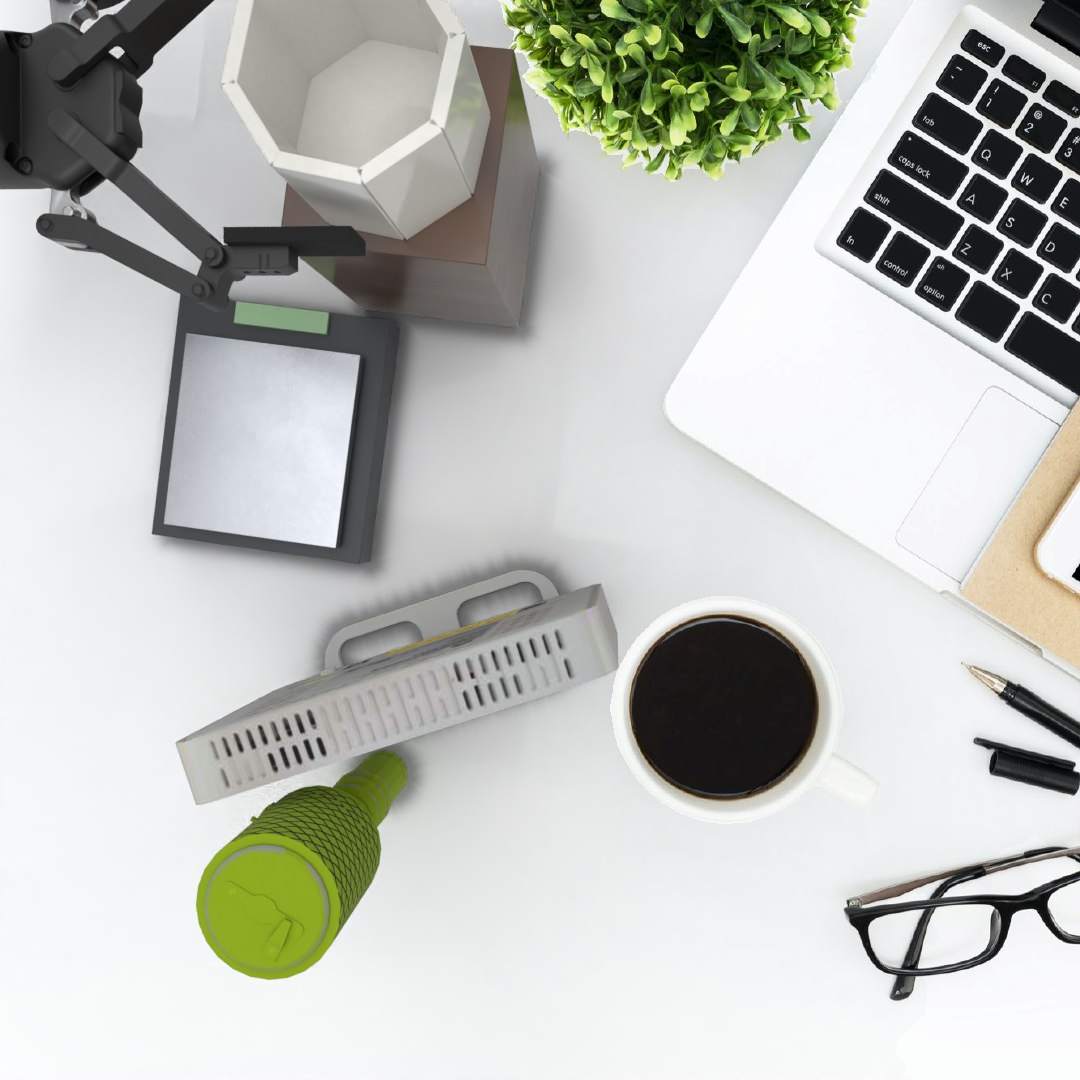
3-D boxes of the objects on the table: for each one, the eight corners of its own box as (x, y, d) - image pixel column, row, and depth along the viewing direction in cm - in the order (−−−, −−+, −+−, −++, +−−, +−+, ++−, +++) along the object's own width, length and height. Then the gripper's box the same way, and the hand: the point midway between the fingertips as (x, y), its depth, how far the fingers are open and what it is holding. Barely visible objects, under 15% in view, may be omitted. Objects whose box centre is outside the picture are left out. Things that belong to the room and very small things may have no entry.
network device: (312, 755, 72) (198, 848, 52) (277, 649, 72) (148, 701, 52) (626, 655, 70) (631, 712, 50) (589, 545, 70) (580, 558, 50)
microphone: (450, 756, 71) (363, 887, 47) (402, 840, 72) (291, 1014, 47) (360, 703, 72) (226, 805, 47) (313, 787, 72) (156, 932, 47)
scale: (198, 302, 72) (177, 292, 69) (400, 327, 71) (389, 318, 67) (170, 533, 73) (148, 534, 69) (370, 562, 72) (358, 564, 68)
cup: (315, 20, 53) (254, -82, 44) (504, 57, 52) (481, -38, 43) (274, 213, 53) (205, 152, 44) (460, 252, 52) (429, 199, 43)
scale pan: (192, 335, 69) (186, 333, 68) (364, 357, 68) (360, 354, 67) (169, 523, 69) (163, 524, 68) (339, 548, 68) (335, 548, 67)
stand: (383, 151, 71) (305, 28, 53) (540, 168, 70) (514, 48, 52) (363, 309, 71) (278, 241, 53) (518, 328, 70) (485, 265, 52)
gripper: (8, -84, 52) (381, -98, 50) (9, 363, 53) (376, 365, 51) (-93, -184, 45) (340, -204, 43) (-91, 339, 45) (335, 340, 44)
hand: (361, 105), depth 47 cm, fingers open, 13 cm apart
